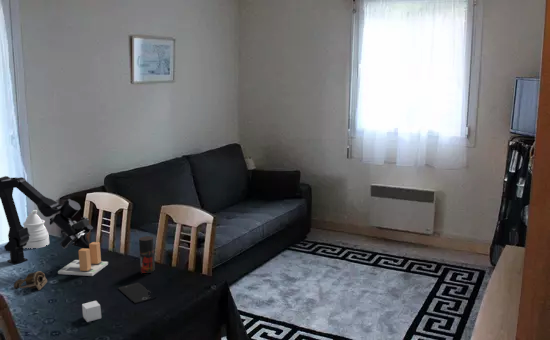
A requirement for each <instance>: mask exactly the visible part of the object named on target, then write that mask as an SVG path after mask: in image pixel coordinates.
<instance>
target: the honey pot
mask: <svg viewBox="0 0 550 340" xmlns="http://www.w3.org/2000/svg"><path fill="white" fill-rule="evenodd" d="M37 213H38V210H37V209H34V210H31V212H30V213H29V214H28V215H27V217H26V219H25V221H24V222H23V223H22V226H23V227H24V228H26V227H27V229H28V233H29V235H30V236H29V240H28V242H27V245H26V246H24V247H23V249H25V248H27V249H26V250H34V249H33V248H36V249H39V248H44V247H47V246H48V245H50V236H49V234H50V233H49V231H48V229H47V228H46V226H45V222H46V220H44V219H41V217H40V216H39V215H38V214H37ZM46 245H47V246H46ZM28 248H29V249H28ZM30 248H31V249H30Z"/></svg>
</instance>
